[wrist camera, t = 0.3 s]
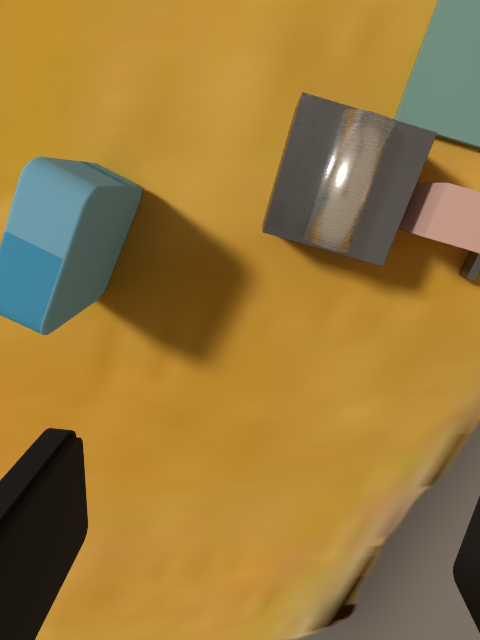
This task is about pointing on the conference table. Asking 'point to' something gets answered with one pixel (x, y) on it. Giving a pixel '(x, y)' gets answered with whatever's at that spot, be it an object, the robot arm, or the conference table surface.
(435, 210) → the pink rectangular prism
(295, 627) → the conference table surface
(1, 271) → the data package
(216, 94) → the conference table surface
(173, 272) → the conference table surface
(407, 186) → the dispenser
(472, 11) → the pad
